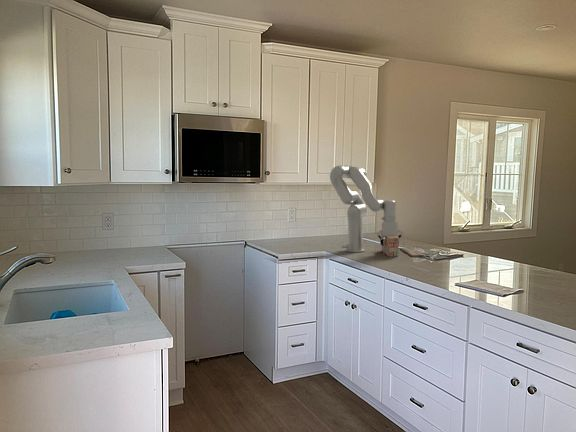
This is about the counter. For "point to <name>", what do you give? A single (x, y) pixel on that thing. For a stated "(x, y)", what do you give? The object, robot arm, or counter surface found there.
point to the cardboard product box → (390, 245)
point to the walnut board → (412, 252)
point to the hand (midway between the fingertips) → (389, 245)
